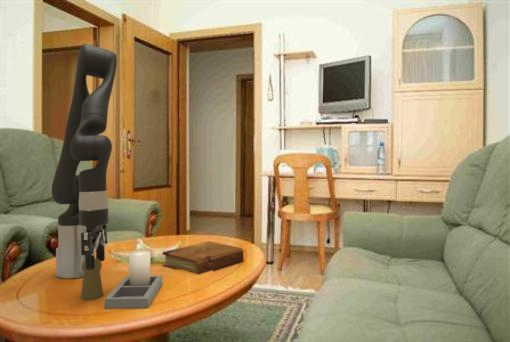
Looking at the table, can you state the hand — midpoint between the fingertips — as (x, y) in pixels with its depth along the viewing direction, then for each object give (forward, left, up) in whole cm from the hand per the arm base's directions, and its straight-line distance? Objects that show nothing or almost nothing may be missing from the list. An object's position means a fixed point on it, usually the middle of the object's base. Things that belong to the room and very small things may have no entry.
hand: (95, 265), depth 110 cm
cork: (-1, 0, -10) cm, 10 cm away
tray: (+11, 0, -9) cm, 14 cm away
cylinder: (+11, +5, -9) cm, 15 cm away
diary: (+27, +34, -10) cm, 44 cm away
